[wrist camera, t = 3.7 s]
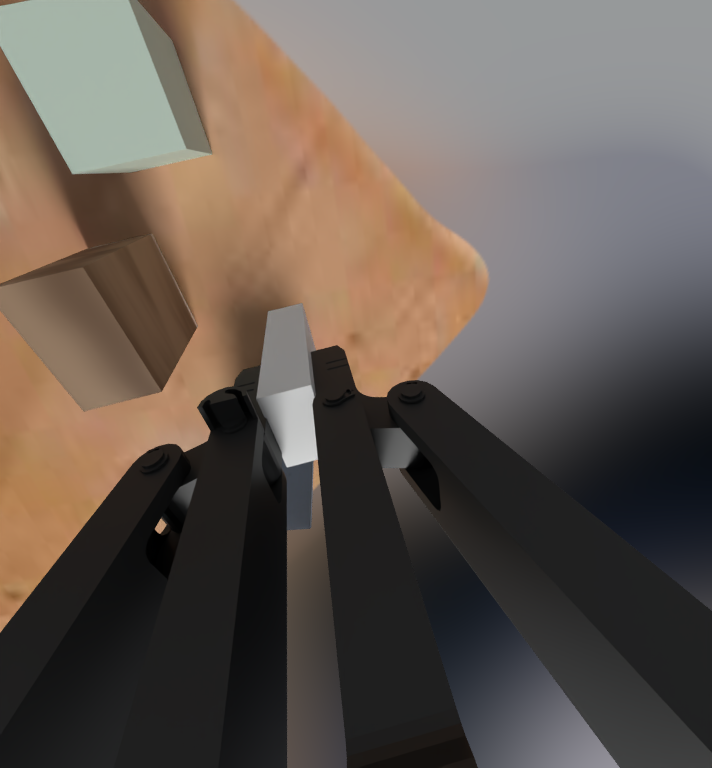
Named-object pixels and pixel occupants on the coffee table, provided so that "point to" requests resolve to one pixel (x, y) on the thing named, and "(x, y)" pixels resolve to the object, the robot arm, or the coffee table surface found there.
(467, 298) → the coffee table surface
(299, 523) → the small box
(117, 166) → the sage block
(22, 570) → the coffee table surface
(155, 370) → the walnut block
